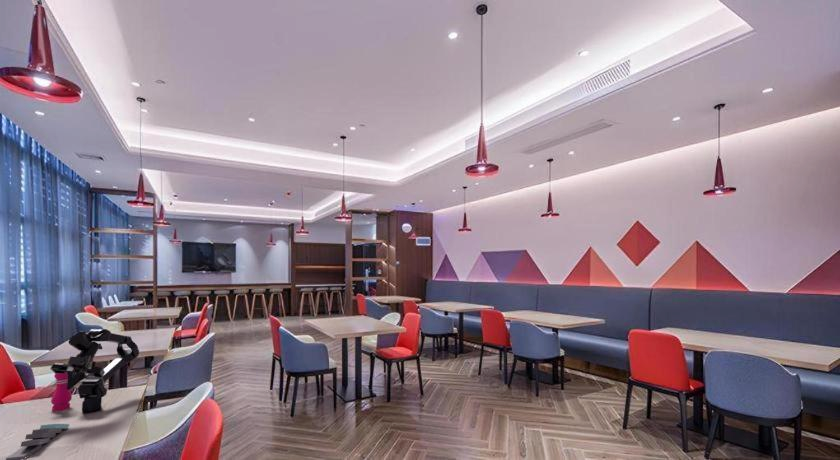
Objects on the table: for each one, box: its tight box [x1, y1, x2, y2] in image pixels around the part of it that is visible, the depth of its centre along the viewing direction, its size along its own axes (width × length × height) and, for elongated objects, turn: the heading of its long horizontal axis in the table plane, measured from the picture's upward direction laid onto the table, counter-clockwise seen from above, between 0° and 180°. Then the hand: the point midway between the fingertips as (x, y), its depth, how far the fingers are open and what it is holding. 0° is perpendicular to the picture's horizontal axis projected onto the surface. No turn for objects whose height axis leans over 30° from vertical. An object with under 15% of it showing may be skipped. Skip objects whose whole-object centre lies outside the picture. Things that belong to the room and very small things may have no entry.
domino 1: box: [5, 444, 43, 460], centre depth 143 cm, size 2×5×10 cm
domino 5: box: [39, 423, 70, 430], centre depth 160 cm, size 2×5×10 cm
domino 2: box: [25, 433, 57, 440], centre depth 152 cm, size 2×5×10 cm
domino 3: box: [20, 437, 51, 448], centre depth 148 cm, size 2×5×10 cm
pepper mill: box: [50, 373, 73, 412], centre depth 188 cm, size 7×7×20 cm
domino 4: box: [31, 428, 63, 434], centre depth 156 cm, size 2×5×10 cm
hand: (67, 389), depth 171 cm, fingers closed
